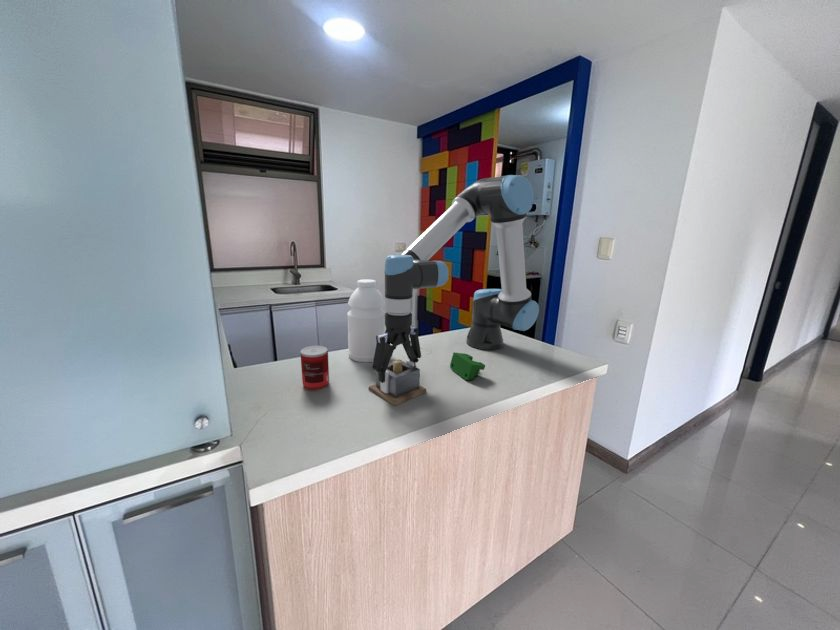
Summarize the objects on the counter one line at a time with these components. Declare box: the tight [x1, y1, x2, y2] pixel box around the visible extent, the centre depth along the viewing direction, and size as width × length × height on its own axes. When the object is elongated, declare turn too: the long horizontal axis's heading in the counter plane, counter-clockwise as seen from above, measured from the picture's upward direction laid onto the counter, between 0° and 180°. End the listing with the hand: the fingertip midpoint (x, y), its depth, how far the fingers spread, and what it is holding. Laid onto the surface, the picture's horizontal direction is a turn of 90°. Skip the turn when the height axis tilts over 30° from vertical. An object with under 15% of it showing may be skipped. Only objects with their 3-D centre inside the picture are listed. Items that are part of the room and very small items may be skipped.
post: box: [368, 360, 427, 406], centre depth 97 cm, size 12×12×9 cm
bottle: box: [346, 278, 386, 363], centre depth 120 cm, size 14×14×28 cm
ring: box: [375, 359, 421, 398], centre depth 97 cm, size 9×9×6 cm
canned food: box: [300, 345, 330, 391], centre depth 99 cm, size 8×8×11 cm
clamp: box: [449, 351, 486, 381], centre depth 111 cm, size 12×6×9 cm, turn 20°
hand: (397, 386), depth 98 cm, fingers closed on ring, 9 cm apart
